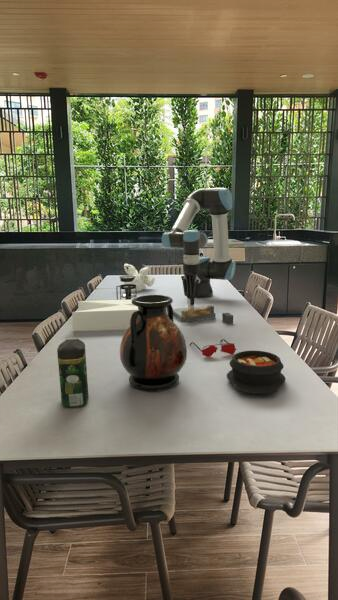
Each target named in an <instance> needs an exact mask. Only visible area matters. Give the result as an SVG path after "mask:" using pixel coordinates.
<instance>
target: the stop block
mask: <svg viewBox="0 0 338 600" xmlns="http://www.w3.org/2000/svg"><path fill="white" fill-rule="evenodd" d="M221 315H222V316H221V317H222V318H221V319H222V320H221V321H222V322H223V323H224V324H226V325H234V315H233V314H232V313H230V312H222V313H221Z"/></svg>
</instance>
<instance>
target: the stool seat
mask: <svg viewBox="0 0 338 600" xmlns="http://www.w3.org/2000/svg"><path fill="white" fill-rule="evenodd" d="M201 307H205V306H204V305H203V306H202V305H201V306H194V309H195V308H201ZM183 310H188V307H181V308H179V307H178V308H173V317H174V318H175V319H177V320H178V321H179V322H191V321H202V320H212V319H216V314H217V313H215V312H214V313H212V314H206V315H200V316H194V317H188V318H184V317H182V311H183Z"/></svg>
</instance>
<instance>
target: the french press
mask: <svg viewBox="0 0 338 600" xmlns="http://www.w3.org/2000/svg"><path fill="white" fill-rule="evenodd" d="M129 265H130V264H128V265H126V266H124V265H123V268H124V267H126V269H127V273H126V275H121V276H119V278H120V279H119V280H120V282H121V283H122V282H123V283H122V284H120V285H116V287H115V289H116V300H122V299H124V300H130V299H134V298H135V297H138V296H137V294H136V293H135V294H134V293H132V292H131V289H136V285H135V284H124V282H132V281H133V280H134V279H135V278H136V276H132V275H130V274H128V267H131V266H129ZM126 286H128V287H126ZM131 286H132V287H131ZM118 288H119V292H118ZM122 290H124V291H125V292H124V294H122ZM119 295H120V296H119Z"/></svg>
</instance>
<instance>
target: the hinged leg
mask: <svg viewBox="0 0 338 600" xmlns="http://www.w3.org/2000/svg"><path fill="white" fill-rule="evenodd" d="M212 313H215V305H207V306H204V307H201V308H195V309H189V310H183V311H182V317H184V318H188V317H194V316H200V315H206V314H212Z"/></svg>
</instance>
